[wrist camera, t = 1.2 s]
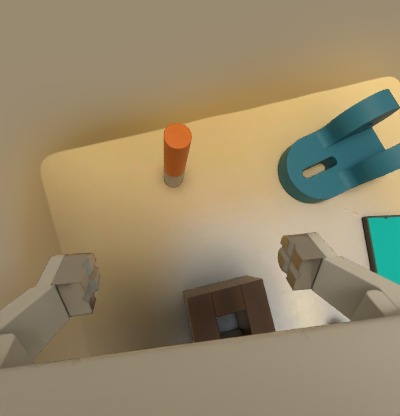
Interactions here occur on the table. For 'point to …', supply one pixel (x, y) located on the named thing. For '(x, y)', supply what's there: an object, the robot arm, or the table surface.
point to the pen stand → (228, 308)
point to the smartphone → (384, 245)
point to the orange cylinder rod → (175, 153)
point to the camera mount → (341, 152)
